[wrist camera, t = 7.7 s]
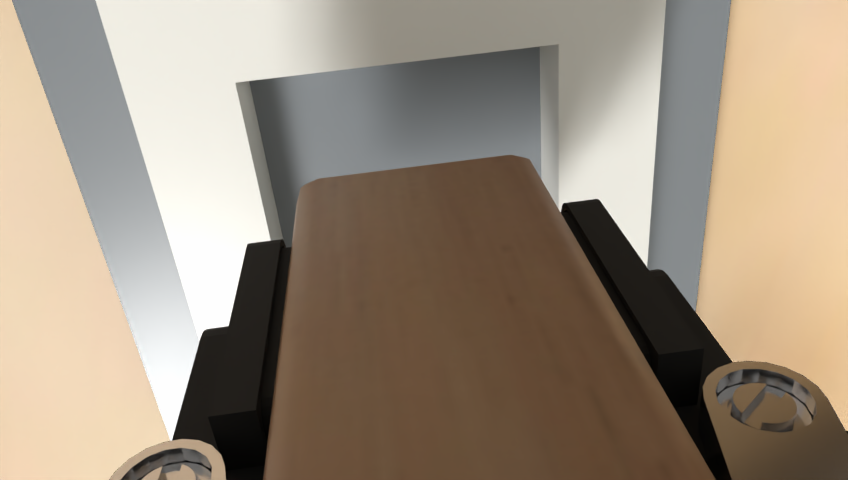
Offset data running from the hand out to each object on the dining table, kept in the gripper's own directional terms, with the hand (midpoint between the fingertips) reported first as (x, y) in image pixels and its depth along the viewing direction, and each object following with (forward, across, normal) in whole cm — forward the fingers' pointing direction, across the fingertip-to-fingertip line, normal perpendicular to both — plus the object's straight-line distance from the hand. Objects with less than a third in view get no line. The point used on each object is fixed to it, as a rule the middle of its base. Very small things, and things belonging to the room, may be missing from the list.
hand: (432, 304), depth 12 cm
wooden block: (+2, 0, 0) cm, 2 cm away
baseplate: (+6, 0, 0) cm, 6 cm away
